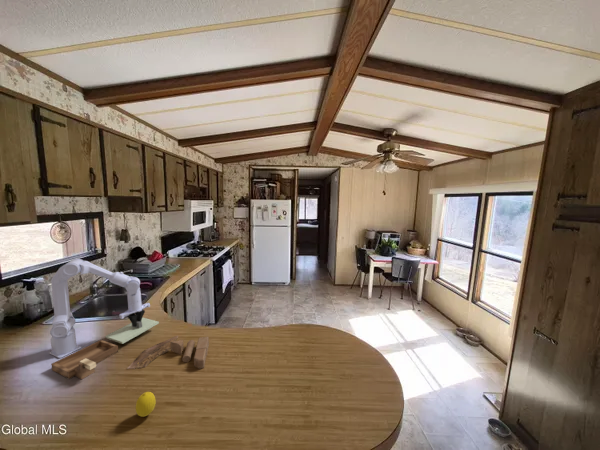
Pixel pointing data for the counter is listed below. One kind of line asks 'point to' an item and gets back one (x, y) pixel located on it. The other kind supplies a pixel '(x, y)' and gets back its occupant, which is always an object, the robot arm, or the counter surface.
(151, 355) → the wooden fragment
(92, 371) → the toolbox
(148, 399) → the lemon
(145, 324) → the lid
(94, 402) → the counter surface
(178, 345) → the wooden block set
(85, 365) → the key
